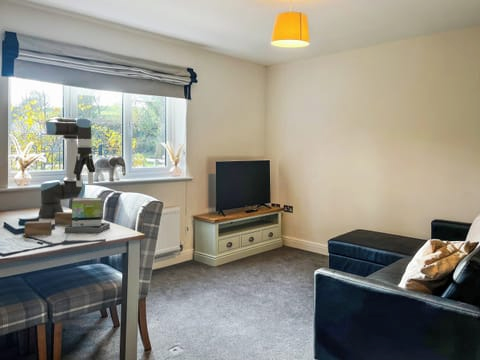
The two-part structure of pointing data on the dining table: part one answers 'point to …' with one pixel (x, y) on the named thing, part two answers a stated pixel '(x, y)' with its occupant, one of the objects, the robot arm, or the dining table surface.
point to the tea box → (86, 212)
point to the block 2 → (63, 218)
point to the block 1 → (38, 228)
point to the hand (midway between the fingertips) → (85, 185)
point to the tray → (87, 229)
